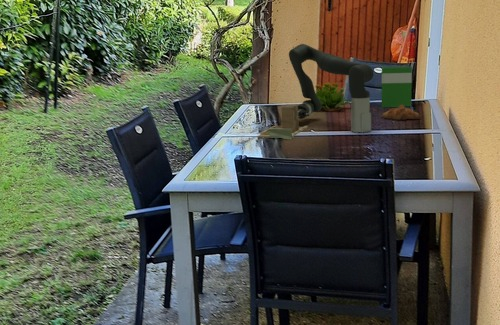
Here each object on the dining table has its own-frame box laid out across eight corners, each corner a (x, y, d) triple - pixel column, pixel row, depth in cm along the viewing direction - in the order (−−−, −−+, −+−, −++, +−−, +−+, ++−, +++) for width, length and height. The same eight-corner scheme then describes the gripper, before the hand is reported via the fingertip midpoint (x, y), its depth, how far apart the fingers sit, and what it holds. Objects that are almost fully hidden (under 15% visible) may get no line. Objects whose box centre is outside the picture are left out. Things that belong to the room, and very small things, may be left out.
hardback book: (411, 105, 377) (411, 66, 372) (411, 107, 370) (411, 67, 365) (382, 105, 382) (382, 67, 376) (381, 107, 375) (381, 68, 369)
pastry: (393, 122, 326) (393, 107, 324) (380, 118, 340) (380, 104, 338) (421, 119, 330) (421, 105, 328) (407, 115, 344) (407, 101, 342)
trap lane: (276, 127, 326) (275, 118, 325) (308, 128, 319) (307, 119, 318) (257, 138, 302) (256, 128, 301) (291, 139, 295) (291, 129, 294)
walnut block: (287, 129, 315) (286, 104, 312) (298, 129, 313) (297, 104, 310) (282, 132, 308) (281, 107, 305) (293, 132, 306) (292, 107, 303)
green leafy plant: (352, 106, 385) (352, 78, 381) (354, 112, 362) (354, 83, 358) (312, 107, 388) (312, 80, 384) (312, 113, 365) (312, 84, 361)
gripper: (314, 117, 327) (305, 123, 311) (291, 117, 332) (280, 123, 316) (314, 103, 325) (304, 109, 309) (291, 103, 330) (280, 108, 314)
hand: (292, 116), depth 313 cm, fingers closed
